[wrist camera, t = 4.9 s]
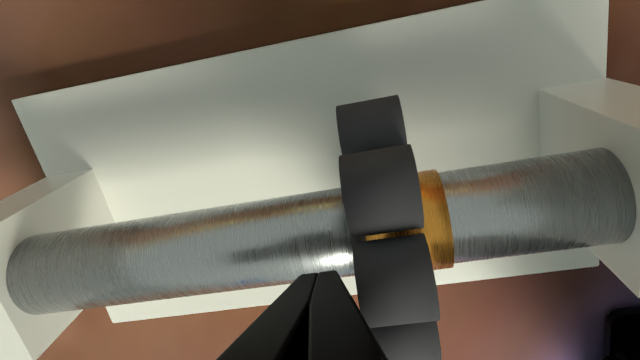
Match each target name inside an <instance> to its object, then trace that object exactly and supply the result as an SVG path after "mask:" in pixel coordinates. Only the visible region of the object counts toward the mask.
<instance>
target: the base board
mask: <svg viewBox="0 0 640 360" xmlns="http://www.w3.org/2000/svg"><path fill="white" fill-rule="evenodd" d="M608 12H609V0H482V1H477V2H472V3H467V4H463V5H458V6H453V7H448V8H444V9H439V10H434V11H429V12H425V13H420V14H415V15H410V16H406V17H401V18H396V19H391V20H387V21H382V22H377V23H372V24H368V25H363V26H358V27H353V28H349V29H344V30H339V31H334V32H330V33H325V34H320V35H315V36H311V37H306V38H301V39H296V40H292V41H287V42H282V43H277V44H273V45H268V46H263V47H258V48H254V49H249V50H244V51H239V52H235V53H230V54H225V55H220V56H216V57H211V58H206V59H201V60H197V61H192V62H187V63H183V64H178V65H173V66H168V67H164V68H159V69H154V70H149V71H145V72H140V73H135V74H130V75H126V76H121V77H116V78H111V79H107V80H102V81H97V82H92V83H88V84H83V85H78V86H73V87H69V88H64V89H59V90H54V91H50V92H45V93H40V94H35V95H31V96H27V97H22V98H18V99H14V100H11V101H12V103H13V106H14V108H15V110H16V112H17V114H18V117H19V119H20V121H21V123H22V125H23V128H24V130H25V132H26V134H27V136H28V138H29V141H30V143H31V145H32V147H33V149H34V152H35V154H36V156H37V158H38V160H39V163H40V165H41V167H42V169H43V171H44V173H45V176H46V177H45V178H43V179H41V180H39V181H37V182H36V183H34V184H32V185H30V186H28V187H26V188H24V189H22V190H20V191H18V192H16V193H14V194H12V195H10V196H8V197H6V198H5V199H3V200H1V201H0V360H37V359H38V358H39V357H40V355H41V354H42V353H43V352H44V351H45V350H46V349H47V348H48V347H49V346H50V345H51V344H52V343H53V342H54V340H55V339H56V338H57V337H58V336H59V335H60V334H61V333H62V332H63V331H64V330H65V329H66V328H67V327H68V325H69V324H70V323H71V322H72V321H73V320H74V319H75V318H76V317H77V316H78V315H79V314H80V313H81V312H82V310H83V309H82V310H74V311H66V312H58V313H50V314H42V315H31V314H28V313H25V312H23V311H22V310H20V309H19V308H18V307H17V306H16V305H15V304H14V303H13V301H12V299H11V298H10V295H9V293H8V290H7V286H6V268H7V264H8V260H9V258H10V256H11V254H12V252H13V250H14V249H15V248H16V246H17V245H18V244H19V243H20V242H22V241H23V240H24V239H26V238H28V237H30V236H33V235H38V234H45V233H51V232H58V231H64V230H70V229H77V228H83V227H90V226H96V225H103V224H109V223H116V222H122V221H128V220H135V219H141V218H148V217H154V216H161V215H167V214H173V213H180V212H186V211H193V210H199V209H206V208H212V207H218V206H225V205H231V204H238V203H244V202H251V201H257V200H264V199H270V198H276V197H283V196H289V195H296V194H302V193H309V192H315V191H321V190H328V189H334V188H341V184H340V175H339V155H342V152H341V147H340V141H339V135H338V128H337V119H336V106H339V105H344V104H350V103H355V102H361V101H366V100H371V99H377V98H382V97H388V96H393V95H398V96H399V99H400V103H401V108H402V113H403V118H404V124H405V130H406V137H407V144H410V145H411V147H412V150H413V154H414V158H415V162H416V167H417V172H419V171H426V170H432V169H436V170H437V172H444V171H450V170H457V169H463V168H469V167H476V166H482V165H489V164H495V163H502V162H508V161H514V160H521V159H527V158H534V157H540V156H547V155H553V154H559V153H566V152H572V151H579V150H585V149H592V148H599V147H602V148H606V149H608V150H610V151H611V152H613V153H614V154H615V155H616V156H617V157H618V158H619V160H620V161H621V162H622V164H623V165H624V167H625V169H626V171H627V173H628V175H629V177H630V180H631V183H632V186H633V189H634V194H635V200H636V222H635V227H634V230H633V232H632V234H631V236H630V237H629V238H628V239H627V240H626V241H625V242H622V243H616V244H608V245H599V246H591V247H583V248H575V249H567V250H559V251H551V252H543V253H535V254H527V255H519V256H511V257H502V258H494V259H486V260H478V261H470V262H462V263H454V266H453V268H446V269H438V270H433V271H434V276H435V282H436V285H442V284H450V283H459V282H468V281H476V280H485V279H493V278H502V277H510V276H519V275H527V274H536V273H544V272H553V271H561V270H570V269H578V268H587V267H596V266H599V259H600V260H601V261H602V262H603V263H604V264H605V265H606V266H607V267H608V268H609V269H610V270H611V271H612V272H613V273H614V274H615V275H616V276H617V277H618V278H619V279H620V280H621V281H622V282H623V283H624V284H625V285H626V286H627V287H628V288H629V289H630V290H631V291H632V292H633V293H634V294H635V295H636V296H637V297H638V298H640V86H638V85H634V84H630V83H626V82H622V81H618V80H614V79H609V78H606V65H607V39H608ZM341 279H342V281H343V283H344V284H345V286H346V288H347V289H348V291H349V293H350V295H357V288H356V281H355V276H349V277H341ZM290 285H291V284H284V285H276V286H268V287H260V288H252V289H244V290H236V291H228V292H220V293H212V294H204V295H196V296H187V297H179V298H171V299H163V300H155V301H147V302H139V303H131V304H123V305H115V306H107V307H106V309H107V311H108V314H109V316H110V318H111V320H112V322H113V323H118V322H126V321H135V320H143V319H152V318H160V317H169V316H177V315H186V314H194V313H203V312H212V311H220V310H229V309H237V308H246V307H254V306H263V305H271V304H272V303H273V302H274V301H275V300H276V299H277V298H278V297H279V296H280V295H281V294H282V293H283V292H284V291H285V290H286V289H287V288H288V287H289V286H290Z"/></svg>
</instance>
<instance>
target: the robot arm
mask: <svg viewBox="0 0 640 360" xmlns="http://www.w3.org/2000/svg"><path fill="white" fill-rule="evenodd" d="M622 320H624V321H623V322H621V323H619V322H620V321H622ZM216 360H388V358H387V357H386V355H385V353H384V351H383V350H382V348H381V346H380V345H379V343H378V341H377V339H376V338H375V336H374V334H373V332H372V331H371V329H370V327H369V326H368V324H367V322H366V320H365V319H364V317H363V315H362V314H361V312H360V310H359V308H358V307H357V305H356V303H355V301H354V300H353V298H352V296H351V295H350V293H349V291H348V289H347V288H346V286H345V284H344V283H343V281H342V279H341V277H340V276H339V274H338V272H337V271H336V270H330V271H323V272H319V273H308V274H301V275H300V276H299V277H298V278H297V279H296V280H295V281H294V282H293V283H292V284H291V285H290V286H289V287H288V288H287V289H286V290H285V291H284V292H283V293H282V294H281V295H280V296H279V297H278V298H277V299H276V300H275V301H274V302H273V303H272V304H271V305H270V306H269V307H268V308H267V309H266V310H265V311H264V312H263V313H262V314H261V315H260V316H259V317H258V318H257V319H256V320H255V321H254V322H253V323H252V324H251V325H250V326H249V327H248V328H247V329H246V330H245V331H244V332H243V333H242V334H241V335H240V336H239V337H238V338H237V339H236V340H235V341H234V342H233V343H232V344H231V345H230V346H229V347H228V348H227V349H226V350H225V351H224V352H223V353H222V354H221V355H220V356H219V357H218V358H217V359H216ZM601 360H640V306H639V307H629V308H619V309H615V310H613V311H611V312H609V314H608V315H607V316H606V319H605V340H604V356H603V357H602V359H601Z"/></svg>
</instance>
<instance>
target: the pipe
mask: <svg viewBox="0 0 640 360" xmlns="http://www.w3.org/2000/svg"><path fill="white" fill-rule="evenodd" d="M418 178H419V183H420V189H421V196H422V204H423V213H424V228H421V229H413V230H406V231H399V232H391V233H384V234H377V235H370V236H362V237H355V238H352V237H351V235H350V232H349V229H348V224H347V220H346V215H345V210H344V204H343V198H342V192H341V188H334V189H328V190H321V191H315V192H309V193H302V194H296V195H289V196H283V197H276V198H270V199H264V200H257V201H251V202H244V203H238V204H231V205H225V206H218V207H212V208H206V209H199V210H193V211H186V212H180V213H173V214H167V215H161V216H154V217H148V218H141V219H135V220H128V221H122V222H116V223H109V224H103V225H96V226H90V227H83V228H77V229H70V230H64V231H58V232H51V233H45V234H38V235H33V236H30V237H28V238H26V239H24V240H23V241H22V242H20V243H19V244H18V245H17V246H16V248H15V249H14V250H13V252H12V254H11V256H10V258H9V260H8V264H7V268H6V286H7V290H8V293H9V295H10V298H11V299H12V301H13V303H14V304H15V305H16V306H17V307H18V308H19V309H20V310H22V311H23V312H25V313H28V314H31V315H42V314H50V313H58V312H66V311H74V310H82V309H91V308H99V307H107V306H115V305H123V304H131V303H139V302H147V301H155V300H163V299H171V298H179V297H187V296H196V295H204V294H212V293H220V292H228V291H236V290H244V289H252V288H260V287H268V286H276V285H284V284H292V283H293V282H294V281H295V280H296V279H297V278H298V277H299V276H300V275H301V274H308V273H319V272H323V271H330V270H336V271H337V272H338V274H339V276H340V277H349V276H355V272H354V262H353V243H354V242H361V241H368V240H376V239H383V238H390V237H398V236H405V235H412V234H420V233H424V234H425V237H426V240H427V243H428V247H429V251H430V256H431V260H432V265H433V270H438V269H446V268H453V266H454V263H462V262H470V261H478V260H486V259H494V258H502V257H511V256H519V255H527V254H535V253H543V252H551V251H559V250H567V249H575V248H583V247H591V246H599V245H608V244H616V243H622V242H625V241H626V240H627V239H628V238H629V237H630V236H631V234H632V232H633V230H634V227H635V222H636V200H635V194H634V189H633V186H632V183H631V180H630V177H629V175H628V173H627V171H626V169H625V167H624V165H623V164H622V162H621V161H620V160H619V158H618V157H617V156H616V155H615V154H614V153H613V152H611V151H610V150H608V149H606V148H602V147H599V148H592V149H585V150H579V151H572V152H566V153H559V154H553V155H547V156H540V157H534V158H527V159H521V160H514V161H508V162H502V163H495V164H489V165H482V166H476V167H469V168H463V169H457V170H450V171H444V172H437V170H436V169H432V170H426V171H419V172H418Z"/></svg>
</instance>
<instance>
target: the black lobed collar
mask: <svg viewBox="0 0 640 360" xmlns="http://www.w3.org/2000/svg"><path fill="white" fill-rule="evenodd" d="M336 119H337V128H338V135H339V141H340V147H341V152H342V155H339V175H340V184H341V192H342V198H343V204H344V210H345V215H346V220H347V224H348V229H349V232H350V235H351V237H352V238H355V237H362V236H370V235H377V234H384V233H391V232H399V231H406V230H413V229H421V228H424V213H423V204H422V196H421V189H420V183H419V178H418V172H417V167H416V162H415V158H414V154H413V150H412V147H411V145H410V144H407V137H406V130H405V124H404V118H403V113H402V108H401V103H400V99H399V96H398V95H393V96H388V97H382V98H377V99H371V100H366V101H361V102H355V103H350V104H344V105H339V106H336ZM353 262H354V272H355V281H356V288H357V295H358V301H359V307H360V312H361V314H362V315H363V317H364V319H365V320H366V322H367V324H368V326H369V327H370V329H371V331H372V332H373V334H374V336H375V338H376V339H377V341H378V343H379V345H380V346H381V348H382V350H383V351H384V353H385V355H386V357H387V358H388V360H441V347H440V340H439V334H438V328H437V322H436V321H439V320H440V311H439V302H438V294H437V288H436V282H435V276H434V271H433V265H432V260H431V256H430V251H429V247H428V243H427V240H426V237H425V234H424V233H420V234H412V235H405V236H398V237H390V238H383V239H376V240H368V241H361V242H354V243H353Z"/></svg>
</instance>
